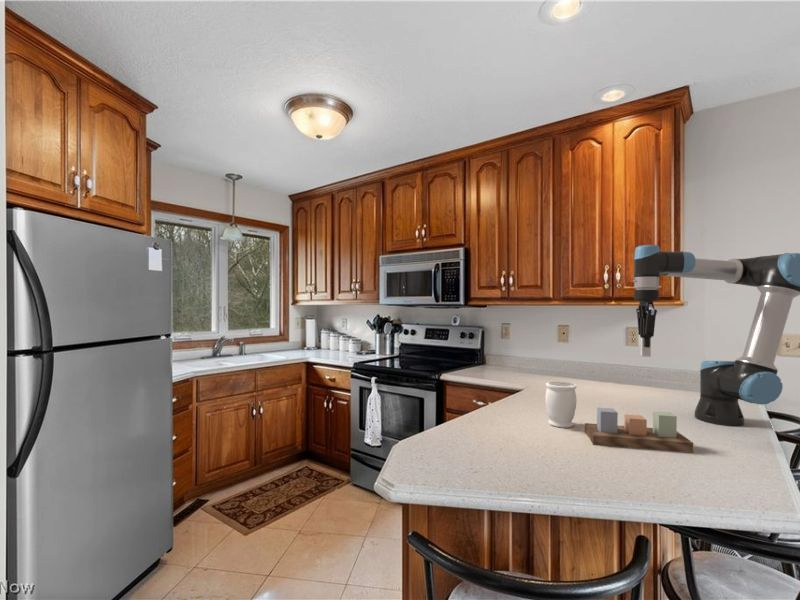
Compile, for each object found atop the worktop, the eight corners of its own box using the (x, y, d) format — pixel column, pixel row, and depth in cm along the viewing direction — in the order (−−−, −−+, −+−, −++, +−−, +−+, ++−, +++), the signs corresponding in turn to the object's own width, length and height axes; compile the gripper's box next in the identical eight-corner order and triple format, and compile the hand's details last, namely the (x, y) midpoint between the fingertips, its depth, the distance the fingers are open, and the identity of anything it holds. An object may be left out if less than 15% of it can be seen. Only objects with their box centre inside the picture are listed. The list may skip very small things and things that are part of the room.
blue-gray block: (612, 430, 138) (613, 408, 138) (617, 435, 133) (617, 412, 133) (596, 429, 139) (597, 407, 139) (600, 434, 134) (600, 411, 134)
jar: (543, 426, 149) (543, 384, 149) (547, 418, 159) (547, 380, 158) (574, 430, 144) (575, 388, 144) (577, 423, 154) (577, 383, 154)
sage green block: (669, 435, 134) (670, 412, 134) (676, 440, 129) (676, 416, 129) (652, 433, 135) (653, 411, 135) (658, 438, 130) (658, 415, 130)
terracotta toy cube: (640, 438, 136) (641, 415, 136) (646, 443, 131) (646, 419, 131) (624, 436, 137) (624, 414, 137) (629, 441, 132) (629, 418, 132)
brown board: (674, 438, 137) (674, 429, 137) (693, 452, 125) (693, 442, 125) (584, 431, 144) (584, 423, 144) (593, 444, 131) (593, 435, 131)
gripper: (628, 289, 152) (628, 353, 152) (641, 288, 140) (640, 358, 140) (651, 289, 151) (650, 354, 151) (665, 289, 138) (664, 359, 138)
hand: (645, 356), depth 145 cm, fingers closed
